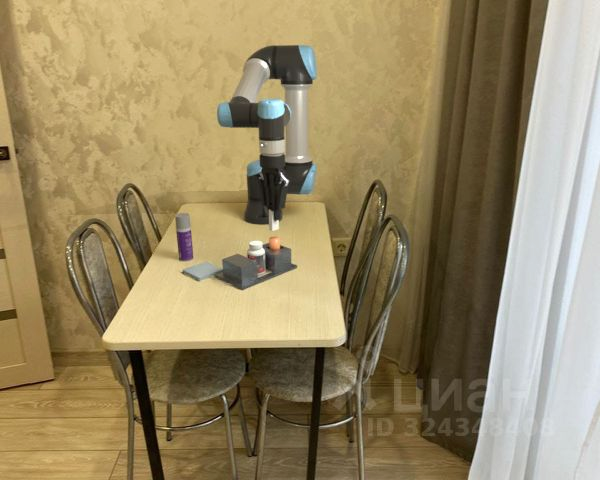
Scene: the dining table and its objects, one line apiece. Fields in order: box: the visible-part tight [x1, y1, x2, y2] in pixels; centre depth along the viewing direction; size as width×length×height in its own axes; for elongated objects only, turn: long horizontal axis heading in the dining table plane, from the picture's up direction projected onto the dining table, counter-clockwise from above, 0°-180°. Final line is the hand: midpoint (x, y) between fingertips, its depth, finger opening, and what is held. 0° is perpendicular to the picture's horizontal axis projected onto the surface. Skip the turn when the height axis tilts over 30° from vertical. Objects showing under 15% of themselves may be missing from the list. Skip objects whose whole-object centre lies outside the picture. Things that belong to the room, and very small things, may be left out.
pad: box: [182, 260, 223, 282], centre depth 168 cm, size 9×9×1 cm
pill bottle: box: [246, 240, 267, 276], centre depth 166 cm, size 5×5×10 cm
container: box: [174, 212, 194, 262], centre depth 175 cm, size 5×5×15 cm
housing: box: [214, 242, 298, 291], centre depth 166 cm, size 22×13×6 cm, turn 135°
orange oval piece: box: [268, 236, 281, 251], centre depth 170 cm, size 3×3×5 cm
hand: (274, 229), depth 168 cm, fingers closed
